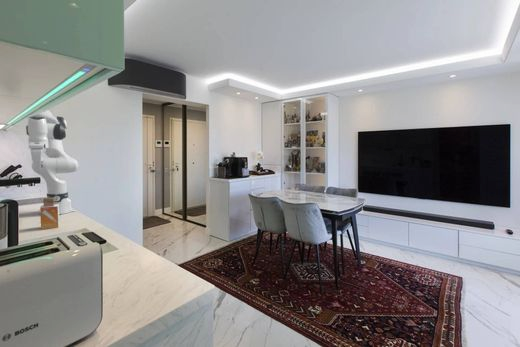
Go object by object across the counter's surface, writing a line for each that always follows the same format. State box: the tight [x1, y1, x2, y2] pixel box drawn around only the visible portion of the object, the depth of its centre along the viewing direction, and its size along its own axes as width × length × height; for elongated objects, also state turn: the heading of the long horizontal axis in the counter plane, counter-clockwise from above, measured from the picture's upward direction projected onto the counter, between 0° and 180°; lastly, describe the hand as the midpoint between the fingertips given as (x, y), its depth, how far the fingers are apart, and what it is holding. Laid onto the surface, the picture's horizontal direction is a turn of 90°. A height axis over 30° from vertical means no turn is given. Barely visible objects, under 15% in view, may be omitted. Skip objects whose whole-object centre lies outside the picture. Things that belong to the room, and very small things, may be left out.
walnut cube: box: [43, 197, 55, 207], centre depth 152 cm, size 4×4×4 cm
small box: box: [39, 204, 61, 230], centre depth 153 cm, size 8×6×13 cm
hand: (40, 168), depth 153 cm, fingers open, 8 cm apart
